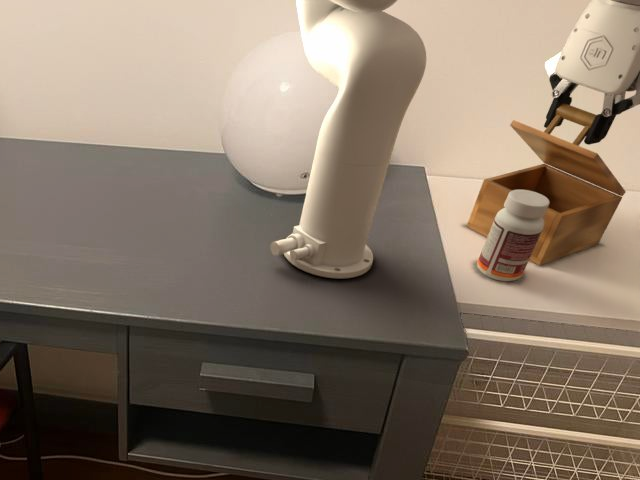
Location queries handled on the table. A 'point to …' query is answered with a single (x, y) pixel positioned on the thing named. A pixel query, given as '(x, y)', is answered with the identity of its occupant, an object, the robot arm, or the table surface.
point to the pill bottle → (513, 235)
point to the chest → (550, 209)
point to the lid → (570, 149)
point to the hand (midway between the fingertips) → (572, 133)
